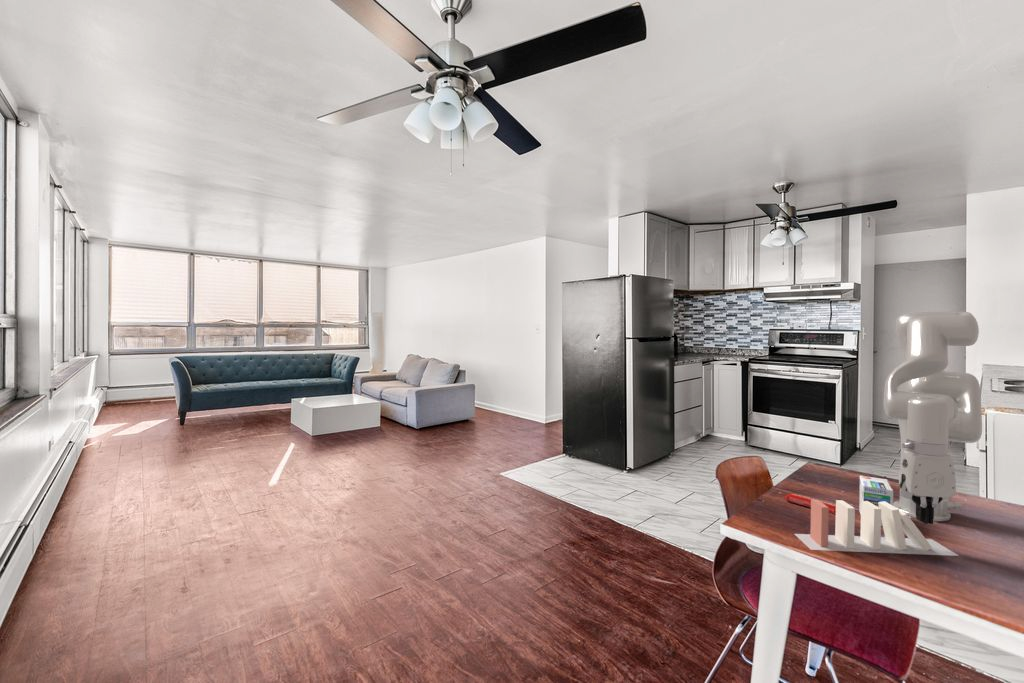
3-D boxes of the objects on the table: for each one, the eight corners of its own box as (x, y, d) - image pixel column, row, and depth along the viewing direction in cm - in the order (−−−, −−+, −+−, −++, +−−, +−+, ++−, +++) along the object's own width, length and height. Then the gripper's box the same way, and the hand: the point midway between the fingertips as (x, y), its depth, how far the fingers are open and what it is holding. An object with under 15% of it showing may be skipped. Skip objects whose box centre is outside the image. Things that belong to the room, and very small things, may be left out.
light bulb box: (893, 530, 124) (894, 490, 123) (862, 524, 127) (863, 486, 127) (887, 515, 133) (888, 478, 132) (858, 510, 137) (858, 474, 136)
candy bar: (847, 515, 134) (847, 505, 134) (843, 519, 131) (843, 508, 131) (787, 499, 146) (787, 489, 146) (782, 502, 144) (782, 492, 144)
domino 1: (816, 537, 119) (817, 499, 119) (827, 547, 114) (828, 507, 114) (810, 537, 119) (811, 499, 119) (821, 546, 115) (821, 507, 114)
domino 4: (892, 539, 117) (884, 501, 117) (906, 548, 112) (898, 509, 112) (885, 540, 117) (878, 502, 117) (899, 549, 112) (891, 510, 112)
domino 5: (916, 537, 117) (892, 505, 117) (932, 547, 112) (906, 513, 112) (910, 541, 117) (886, 509, 117) (926, 550, 112) (900, 517, 112)
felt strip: (931, 540, 118) (931, 538, 118) (959, 557, 109) (959, 555, 109) (793, 535, 122) (793, 533, 122) (810, 551, 113) (810, 549, 113)
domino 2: (841, 538, 119) (842, 500, 118) (853, 548, 114) (854, 508, 113) (835, 538, 119) (835, 500, 118) (846, 547, 114) (847, 508, 113)
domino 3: (867, 539, 118) (868, 501, 117) (880, 549, 113) (881, 509, 112) (860, 539, 118) (861, 500, 118) (873, 548, 113) (874, 508, 113)
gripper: (904, 451, 110) (902, 527, 111) (973, 453, 108) (971, 529, 109) (883, 443, 117) (881, 514, 118) (947, 444, 116) (944, 516, 117)
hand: (924, 521), depth 114 cm, fingers closed
